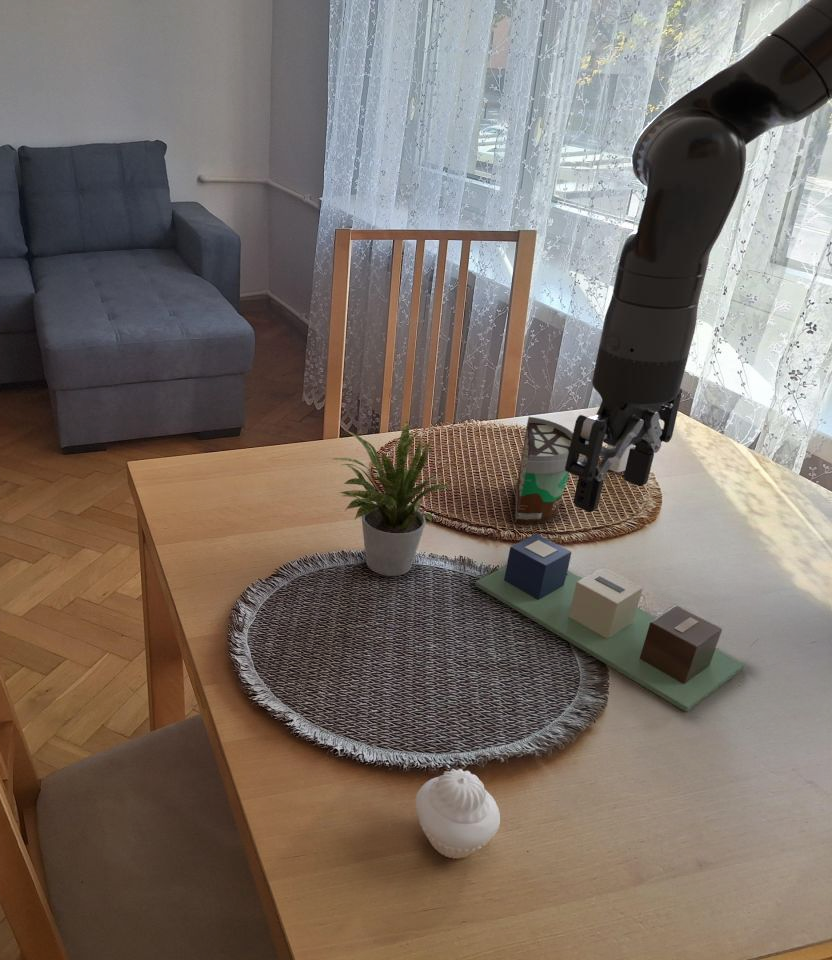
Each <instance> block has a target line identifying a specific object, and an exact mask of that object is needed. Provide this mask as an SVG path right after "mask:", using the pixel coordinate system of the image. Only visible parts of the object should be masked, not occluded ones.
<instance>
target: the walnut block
mask: <svg viewBox="0 0 832 960" xmlns="http://www.w3.org/2000/svg"><path fill="white" fill-rule="evenodd" d="M722 632H723V629H722V628H721V627H720V626H717V625H716V624H714V623H711V622H710V621H708V620H706V619H704V618H702V617H700V616H698V615H696V614H694V613H692V612H690V611H688V610H686V609H684V608H682V607H680V606H678V605H674V606H673V607H671V608H670V609H669V610H667V611H665V612H663V613H662V614H660V615H659V616H658V617H656V619H655V620H653V621H652V622H650V625H649V628H648V632H647V635H646V638H645V642H644V645H643V648H642V652H641V655H640V659H642V660H643V661H645V662H647V663H648V664H650V665H652V666H654V667H655V668H657V669H659V670H661V671H662V672H664V673H666V674H668V675H669V676H671V677H673V678H675V679H676V680H678V681H680V682H681V683H683V684H685V683H686V682H688V681H689V680H690V679H692V678H693V677H694V676H696V675H697V674H698V673H700V672H701V671H703V670H704V669H705V668H707V667H708V666H709V665H710V663H711V660H712V657H713V654H714V651H715V649H716V650H717V646H718V643H719V640H720V637H721V634H722Z"/></svg>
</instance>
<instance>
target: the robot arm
mask: <svg viewBox="0 0 832 960" xmlns="http://www.w3.org/2000/svg"><path fill="white" fill-rule="evenodd" d="M831 100H832V0H808V2H806V3H805V4H804V5H803V6H802V7H800V8H799V9H798V10H796V11H795V12H794V13H793V14H792V15H791V16H789V17H788V18H787V19H786V20H784V21H783V22H782V23H780V25H779V26H777V27H775V29H774V30H772V31H771V32H770V33H769V34H768V35H767V36H765V37H764V38H763V39H761V41H760V42H758V44H756V45H755V46H754V47H753V48H752V49H751V50H749V52H748V53H746V54H745V55H744V56H743V57H742V58H739V59H738V60H737V61H735V62H733V63H732V64H730V65H729V66H727V67H725V68H724V69H722V70H719V72H717V73H716V74H713V76H711V77H709V78H708V79H706V80H705V81H704V82H702V83H701V84H699V85H697V86H696V87H694V88H692V89H691V90H690V91H688V92H687V93H685V94H683V96H680V98H678V99H677V100H675V101H674V102H673V103H671V104H670V105H669V106H667V107H666V108H665V109H664V110H662V111H661V112H660V113H659V114H657V116H655V118H653V119H652V120H651V122H649V123H648V124H647V126H645V128H643V130H642V132H641V133H640V134H639V136H638V138H637V140H636V142H635V143H634V146H633V149H632V154H631V168H632V172H633V174H634V177H635V179H636V180H637V181H638V182H639V183H640V185H641V186H642V187H644V188H645V189H646V192H645V193H646V194H645V199H644V202H643V203H644V204H643V207H642V211H641V214H640V218H639V222H638V225H637V229H636V230H634V231H632V232H631V233H629V235H628V236H627V238H626V239H625V241H624V243H623V246H622V249H621V252H620V256H619V260H618V265H617V269H616V273H615V274H616V275H615V280H614V285H613V290H612V295H611V298H610V302H609V304H608V307H607V310H606V313H605V316H604V320H603V325H602V330H601V335H600V340H599V345H598V350H597V355H596V360H595V365H594V370H593V375H592V381H591V384H592V387H593V388H594V389H595V391H596V392H597V393H598V394H599V396H600V398H601V402H600V405H599V408H598V410H597V412H596V414H595V415H594V416H589V415H588V416H587V415H585V414H582V413H581V414H579V415H578V416H577V417H576V420H575V423H574V427H573V431H572V433H573V436H572V440H571V444H570V449H569V453H568V458H567V462H566V466H565V471H566V472H569V474H571V475H573V476H576V477H578V478H577V483H576V487H575V492H574V497H573V504H574V506H575V507H576V508H578V509H581V510H583V511H585V512H588V513H593V512H594V511H596V510H598V508H599V504H600V499H601V496H602V495H601V494H602V490H603V485H604V482H605V479H604V478H605V476H606V474H607V473H608V471H609V468H610V466H611V464H612V463H613V462H617V461H619V460H620V459H621V457H622V455H623V454H624V452H625V450H626V449H627V447H628V446H630V445H631V444H632V445H635V447H632V448H630V451H629V455H628V459H627V464H626V468H625V471H623V472H624V473H623V479H624V481H626V483H627V482H628V483H630V484H632V485H635V486H638V487H642V486H644V485H646V484H647V483H648V481H649V477H650V473H651V469H652V465H653V461H654V456H655V454H656V453H658V452H659V451H660V450H661V447H662V442H664V443H669V442H670V441H671V440H672V438H673V435H674V429H675V425H676V421H677V417H678V411H679V408H680V402H681V398H682V393H683V389H681V387H682V382H683V379H684V376H685V375H684V374H685V371H686V367H687V363H688V359H689V356H690V350H691V347H692V344H693V338H694V336H695V332H696V326H697V320H698V308H699V302H700V299H701V298H700V297H701V293H702V290H703V286H704V282H705V278H706V274H707V270H708V265H709V261H710V255H711V252H712V249H713V247H714V246H715V244H716V242H717V240H718V239H719V237H720V235H721V233H722V232H723V229H724V226H725V225H726V222H727V220H728V218H729V216H730V213H731V211H732V209H733V207H734V204H735V202H736V200H737V198H738V195H739V193H740V190H741V186H742V184H743V180H744V175H745V171H746V164H747V145H748V144H749V143H751V142H753V141H754V140H755V139H757V138H758V137H760V136H761V135H763V134H765V133H766V132H768V131H770V130H771V129H774V128H776V127H782V126H787V125H792V124H796V123H799V122H800V121H802V120H804V119H805V118H807V117H809V116H810V115H812V114H813V113H815V112H816V111H818V110H819V109H820V108H822V107H823V106H824V105H826V104H827V103H828V102H829V101H831ZM660 420H661V421H662V422H663V423H664V424H663V427H661V424H660ZM603 444H606V445H608V444H609V445H611V446H614V448H612V449H608V448H607V447H605V446H603ZM580 455H581V456H580ZM600 457H602V459H601V461H600V462H599V460H600ZM578 459H579V461H578Z"/></svg>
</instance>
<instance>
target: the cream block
mask: <svg viewBox="0 0 832 960" xmlns="http://www.w3.org/2000/svg"><path fill="white" fill-rule="evenodd" d="M643 589H644V588H643V586H641V585H638V584H637V583H635V582H633V581H631V580H629V579H627V578H625V577H623V576H621V575H619V574H617V573H616V572H613V571H611V570H609V569H607V568H606V567H604V566H603V567H601V568H599V569H596V570H595V571H593V572H591V573H589V574H588V575H587V576H585V577H583V578H582V579H581V580H579V581H578V582H577V583H576V587H575V591H574V596H573V600H572V604H571V608H570V612H569V617H570V618H572V619H573V620H575V621H577V622H579V623H580V624H582V625H584V626H585V627H587V628H589V629H591V630H592V631H594V632H596V633H598V634H599V635H601V636H603V637H605V638H606V639H608V638H610V637H611V636H613V635H615V634H616V633H618V632H619V631H621V630H622V629H624V628H626V627H627V626H629V625H630V624H632V623H633V621H634V617H635V614H636V610H637V608H639V603H640V600H641V596H642V592H643Z"/></svg>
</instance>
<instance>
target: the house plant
mask: <svg viewBox="0 0 832 960" xmlns="http://www.w3.org/2000/svg"><path fill="white" fill-rule="evenodd" d="M342 429H343V428H342ZM343 431H345V432H346V433H349V434H350V435H352V436H353V437H355V439H357V440H358V441H359V442H360V443H361V444H362V446H363V447H364V449H365V450H366V453H367V454H368V457H369V458H370V460H371V463H372V464H373V466H374V468H375V470H376V472H377V474H378V476H377V475H375V474H374V472H373V471H372V470H370V468H369V467H368V466H366V465H365V464H364V463H362V462H360V461H358V460H356V459H353V458H347V457H345V458H344V457H336V458H332V461H333V460H334V461H344V462H351V463H354V464H351V463H343V464H341V466H346V467H348V468H349V469H350V470H352V471H353V472H354V473H355V475H356V476H357V477H354V478H350V479H348V480H346V481H345V482H344V483H343V485H342V486H344V485H357V486H362V487H363V488H364V489H365V490H360V489H359V490H358V489H351V490H347V491H341V492H340V494H344V495H342V497H346V498H347V497H349V498H354V499H353V500H352V501H350V503H349V504H348V506H347V507H346V508H345V510H344V512H346V511H347V510H348V509H354V508H358V510H357V511H356V515H355V517H354V520H356V519H357V518H360V517H361V524H362V525H361V526H362V534H363V545H364V554H365V564H366V566H367V568H369V569H370V570H371V571H372V572H374V573H376V574H378V575H382V576H387V577H398V576H402V575H405V574H407V573H408V572H409V571H410V570H411V569H412V566H413V563H414V560H415V557H416V553H417V551H418V548H419V544H420V541H421V538H422V535H423V532H424V529H425V526H426V522H427V521H426V519H428V520H429V522H430V523H431V524H433V521H432V520H433V517H434V516H433V515H432V514H431V513H422V511H420V510H419V509H421V503H420V502H419V500H420V499H421V498H423V497H424V496H425V495H427V494H430V493H431V492H434V491H438V490H440V489H447V488H448V489H450V490H451V489H452V490H453V488H452V487H451V486H450V485H447V484H436V485H432V486H430V487H428V488H427V489H424V488H425V486H426V485H428V484H429V483H430V482H432V481H434V482H435V481H437V482H438V481H440V482H444V481H443V479H442V478H439V477H437V478H433V477H434V476H436V475H437V474H438V473H439V472H441V471H442V470H443V469H445V468H447V467H448V466H449V465H450V464H452V462H451V463H449V464H446V465H445V466H443V467H441V468H439V469H438V470H437V471H436V472H434V473H433V475H430V477H428V478H427V479H426V480H425V481H423V482H422V483H420V484H418V485H416V483H417V481H418V478H419V476H420V473H421V472H422V470H423V468H424V466H425V464H426V462H427V459H428V455H429V450H430V444H431V443H430V440H429V441H428V443H427V444H426V446H425V448H424V450H423V446H424V445H423V443H424V439H423V438H424V437H423V436H421V437H420V439H419V442H418V445H417V446H416V448H415V452H414V456H413V459H412V461H411V463H410V466H409V468H408V469H407V468H405V467H406V462H407V458H408V455H409V453H410V450H411V447H412V445H413V443H414V439H415V438H416V437H417V435H418V432H416V433H414V434H412V435H411V436H410V422H409V419H407V420H406V421H405V423H404V425H403V427H402V429H401V434H400V437H399V441H398V445H397V449H396V453H395V454H396V463H395V464H396V465H395V466H396V467H394V464H393V462H392V461H391V460H390V458H389V457H388V455H386V454H385V453H384V452H382V453H381V454H380V456H381V459H380V456H379V454H378V452H377V450H376V448H375V447H374V446H373V445H372V443H370V442H369V441H367V440H366V439H363V438H362V437H361V436H359V435H358V434H356V433H354V432H352V431H349V430H346V429H343ZM422 450H423V452H422ZM355 464H358V465H360V466H361V467H364V468H366V469H367V470H368V471H369V472H370V473H371V474H372V475H373V477H372V478H375V479H376V480H377V481H378V482H379V484H380V485H381V487H382V488H383V491H384V493H383V492H380V491H379V489H378V488H377V486H376V484H375V483H374V482H373V481H372V478H371V477H370V476H369V474H368V473H367V472H366V471H365V470H364V469H362V468H361V467H359V466H357V465H355ZM353 466H354V467H353ZM355 467H356V468H355ZM357 468H358V469H360V470H361V471H362V472H363V473H364V474H365V476H366V477H367V479H368V480H369V481H367V480H366V478H365V477H364V475H363V473H361V472H360V470H358V469H357ZM432 478H433V479H432ZM430 479H431V480H430ZM415 485H416V486H415ZM423 489H424V490H423ZM422 490H423V491H422ZM421 491H422V492H421ZM419 493H420V494H419Z"/></svg>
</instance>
